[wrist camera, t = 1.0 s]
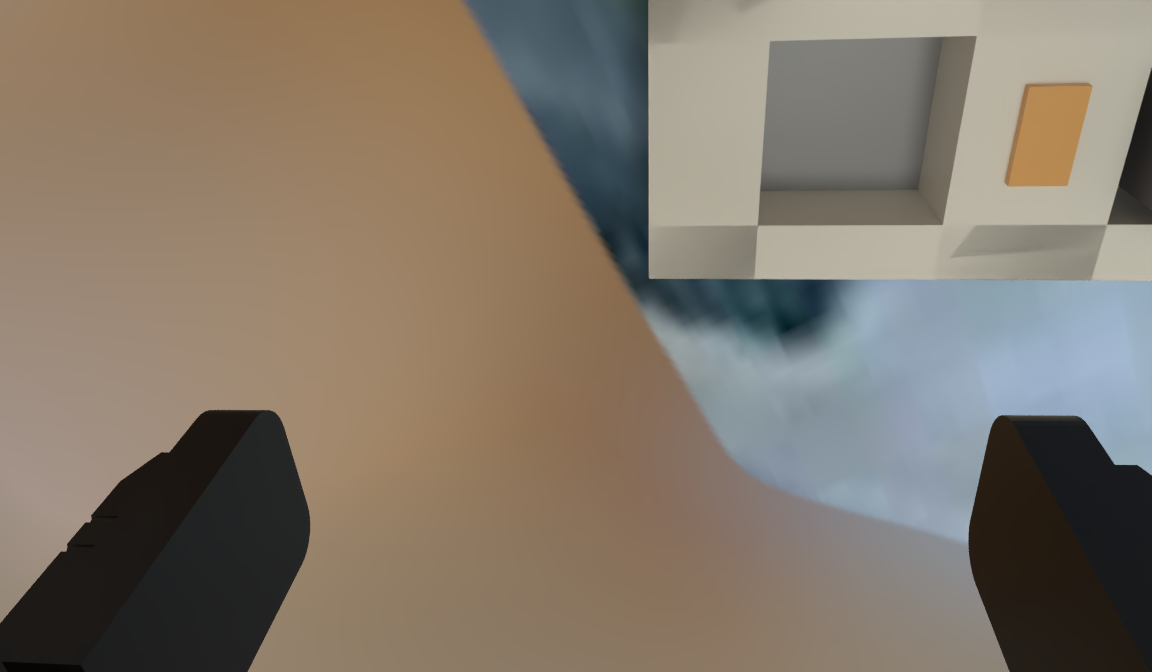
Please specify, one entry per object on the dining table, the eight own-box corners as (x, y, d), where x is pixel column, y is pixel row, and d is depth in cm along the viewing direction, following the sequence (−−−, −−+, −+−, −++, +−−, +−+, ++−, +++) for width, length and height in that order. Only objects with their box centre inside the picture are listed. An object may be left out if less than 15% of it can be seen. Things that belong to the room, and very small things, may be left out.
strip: (651, 229, 31) (648, 283, 27) (651, -44, 26) (647, -25, 23) (1319, 228, 28) (1416, 286, 25) (1443, -73, 24) (1584, -57, 20)
